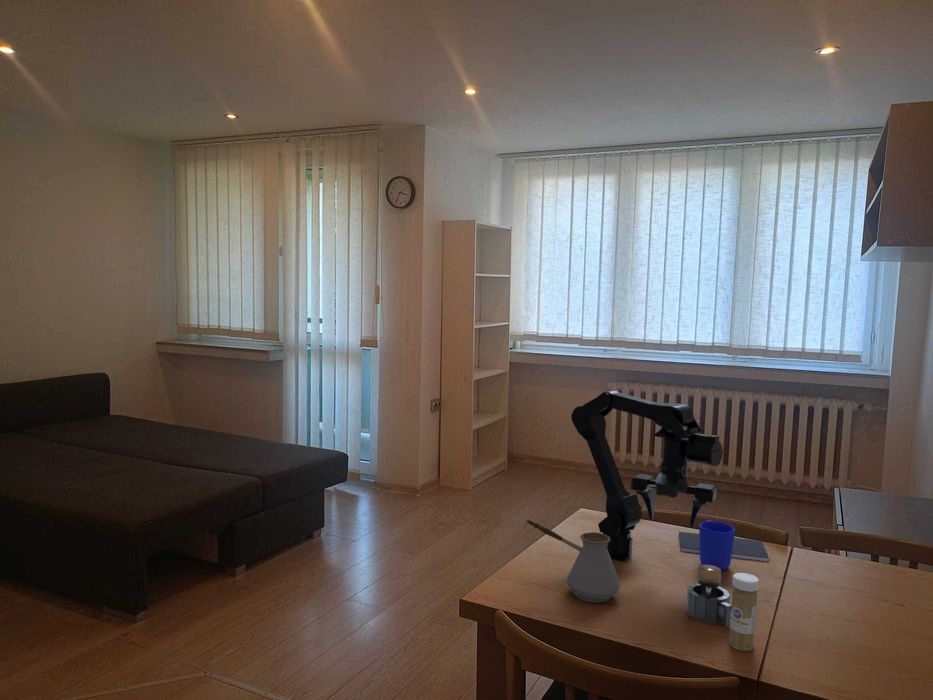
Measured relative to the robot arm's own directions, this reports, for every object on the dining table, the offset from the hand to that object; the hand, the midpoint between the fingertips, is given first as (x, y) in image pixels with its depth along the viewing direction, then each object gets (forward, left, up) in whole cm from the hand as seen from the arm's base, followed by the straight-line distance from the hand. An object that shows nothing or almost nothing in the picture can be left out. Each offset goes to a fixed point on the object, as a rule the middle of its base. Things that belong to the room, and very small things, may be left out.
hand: (671, 523), depth 163 cm
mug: (+8, +12, -12) cm, 19 cm away
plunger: (+12, -18, -11) cm, 24 cm away
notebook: (+8, +25, -13) cm, 29 cm away
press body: (+13, -19, -12) cm, 26 cm away
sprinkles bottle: (+20, -28, -12) cm, 36 cm away
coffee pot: (-16, -23, -12) cm, 31 cm away
